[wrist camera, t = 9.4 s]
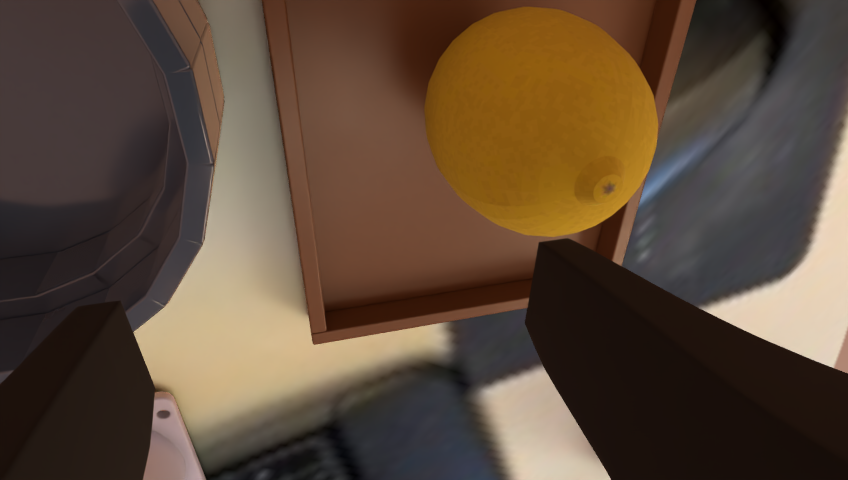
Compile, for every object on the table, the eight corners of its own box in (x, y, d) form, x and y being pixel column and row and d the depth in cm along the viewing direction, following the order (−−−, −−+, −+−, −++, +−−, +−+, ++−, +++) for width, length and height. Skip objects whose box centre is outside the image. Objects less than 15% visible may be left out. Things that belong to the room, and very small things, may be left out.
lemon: (583, 12, 17) (780, 90, 11) (519, 165, 20) (645, 302, 13) (427, -41, 15) (553, 17, 9) (378, 138, 18) (447, 284, 11)
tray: (595, 271, 24) (614, 293, 23) (309, 318, 22) (313, 345, 20) (740, -310, 14) (790, -331, 12) (207, -372, 11) (201, -406, 10)
